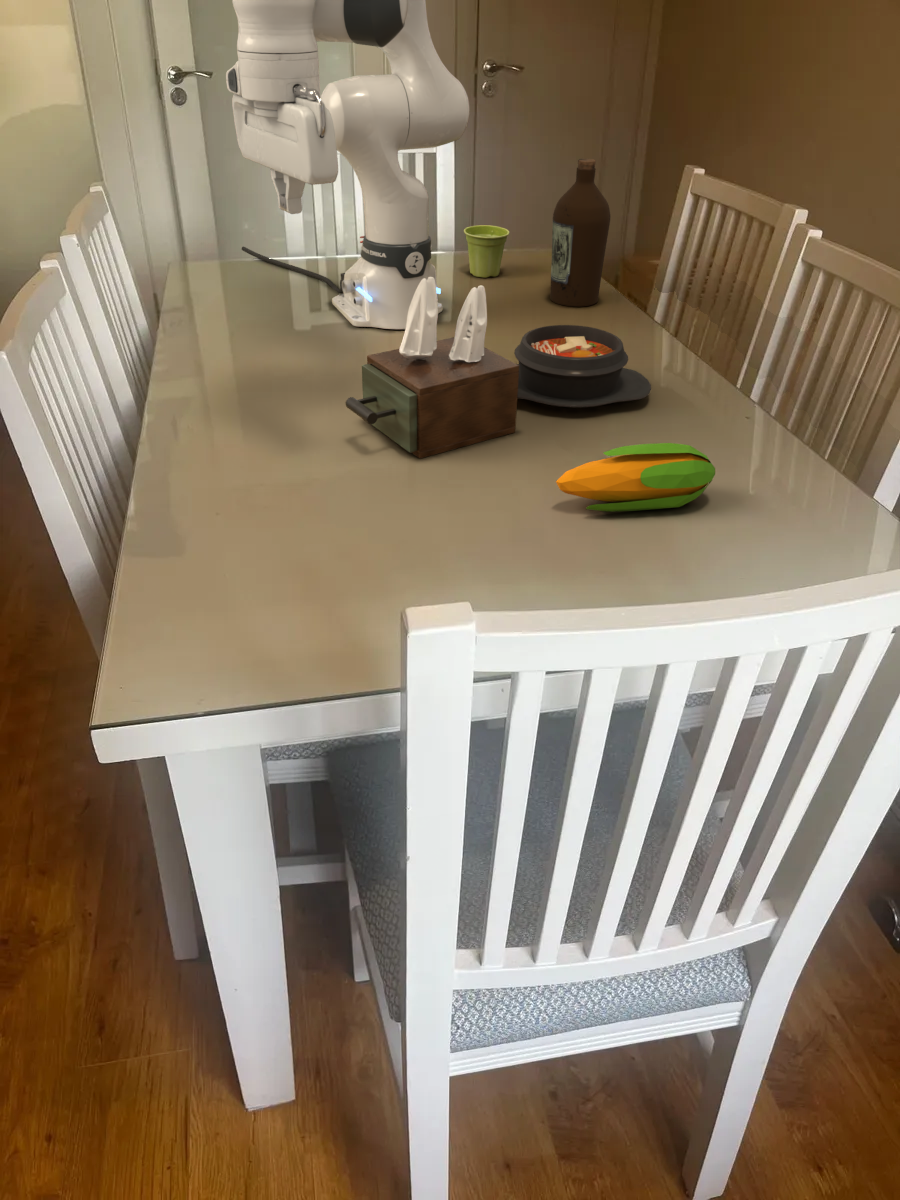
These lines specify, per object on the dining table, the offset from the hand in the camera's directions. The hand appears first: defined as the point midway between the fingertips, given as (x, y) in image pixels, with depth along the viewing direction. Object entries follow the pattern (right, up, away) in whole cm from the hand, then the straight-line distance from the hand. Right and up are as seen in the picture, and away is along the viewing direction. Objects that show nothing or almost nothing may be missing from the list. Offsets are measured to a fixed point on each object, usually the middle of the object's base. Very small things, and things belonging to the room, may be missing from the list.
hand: (290, 211), depth 110 cm
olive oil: (+43, +12, +68) cm, 82 cm away
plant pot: (+27, +21, +82) cm, 88 cm away
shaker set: (+18, -15, +14) cm, 27 cm away
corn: (+42, -35, +2) cm, 55 cm away
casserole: (+37, -16, +30) cm, 50 cm away
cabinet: (+18, -22, +19) cm, 35 cm away
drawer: (+15, -23, +17) cm, 32 cm away
